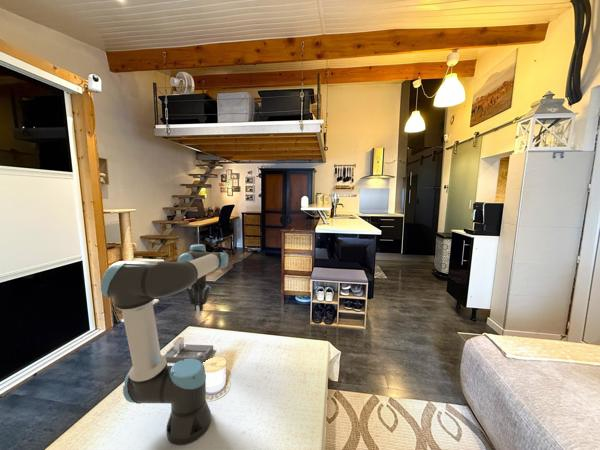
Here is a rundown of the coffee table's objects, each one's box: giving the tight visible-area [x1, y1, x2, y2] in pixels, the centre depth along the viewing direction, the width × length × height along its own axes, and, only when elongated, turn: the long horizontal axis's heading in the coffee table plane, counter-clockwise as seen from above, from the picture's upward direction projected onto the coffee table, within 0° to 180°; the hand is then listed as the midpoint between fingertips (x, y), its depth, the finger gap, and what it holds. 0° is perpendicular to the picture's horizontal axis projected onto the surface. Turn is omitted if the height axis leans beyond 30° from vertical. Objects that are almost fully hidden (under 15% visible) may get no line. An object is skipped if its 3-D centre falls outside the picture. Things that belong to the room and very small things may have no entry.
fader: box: [173, 336, 185, 353], centre depth 132 cm, size 5×3×6 cm, turn 178°
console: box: [163, 343, 214, 364], centre depth 132 cm, size 12×22×4 cm, turn 88°
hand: (199, 316), depth 130 cm, fingers closed
